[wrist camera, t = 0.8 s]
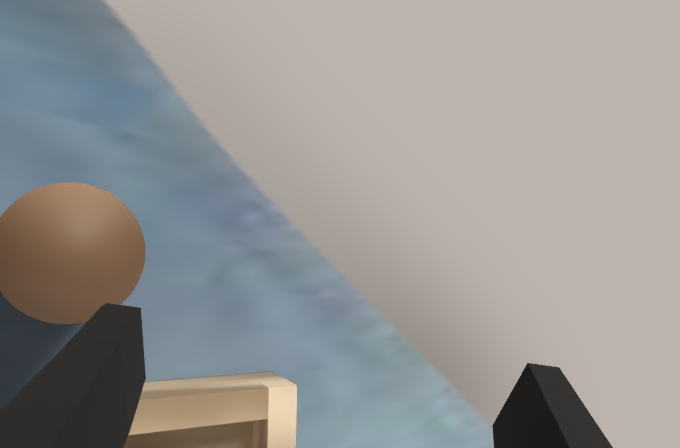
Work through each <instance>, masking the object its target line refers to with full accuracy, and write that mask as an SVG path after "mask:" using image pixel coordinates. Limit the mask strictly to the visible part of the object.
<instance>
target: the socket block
mask: <svg viewBox="0 0 680 448" xmlns="http://www.w3.org/2000/svg"><path fill="white" fill-rule="evenodd" d="M296 406H297V385H295V384H293V383H292V382H290V381H288V380H286V379H284V378H283V377H281V376H279V375H277V374H276V373H274V372H265V373H253V374H240V375H228V376H215V377H203V378H191V379H178V380H166V381H153V382H144V386H143V389H142V393H141V396H140V399H139V403H138V406H137V410H136V413H135V416H134V419H133V423H132V426H131V429H130V432H129V435H128V437H127V439H126V442H125V444H124V447H123V448H296Z"/></svg>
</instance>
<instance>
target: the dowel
mask: <svg viewBox="0 0 680 448" xmlns="http://www.w3.org/2000/svg"><path fill="white" fill-rule="evenodd" d="M144 261H145V243H144V237H143V234H142V231H141V228H140V226H139V224H138V222H137V220H136V218H135V217H134V215H133V213H132V212H131V211H130V210H129V209H128V207H127V206H126V205H125V204H124V203H122V202H121V201H120V200H119V199H118V198H116V197H115V196H113V195H112V194H110V193H108V192H106V191H104V190H102V189H100V188H97V187H94V186H91V185H87V184H81V183H56V184H51V185H47V186H43V187H40V188H37V189H35V190H33V191H31V192H29V193H27V194H25V195H23V196H22V197H21V198H19V199H18V200H16V201H15V202H14V203H13V204H12V205H11V206H10V207H9V208H8V209H7V210H6V211H5V212H4V214H3V215H2V216H1V218H0V292H1V293H2V295H3V296H4V297H5V298H6V299H7V300H8V302H9V303H10V304H11V305H13V306H14V307H15V308H17V309H18V310H19V311H21V312H22V313H24V314H26V315H28V316H29V317H32V318H34V319H37V320H40V321H43V322H47V323H53V324H68V325H69V324H79V323H83V322H87V321H88V320H89V319H90V318H91V317H92V316H93V315H94V314H95V312H96V311H97V310H98V309H99V308H100V307H101V306H102V305H104V304H106V303H110V304H117V305H120V304H121V303H123V301H124V300H125V299H126V298H127V297H128V296H129V295H130V294H131V292H132V291H133V290H134V288H135V286H136V285H137V283H138V281H139V279H140V276H141V273H142V270H143V266H144Z"/></svg>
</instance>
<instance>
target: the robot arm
mask: <svg viewBox="0 0 680 448" xmlns="http://www.w3.org/2000/svg"><path fill="white" fill-rule="evenodd" d="M145 379H146V377H145V363H144V348H143V334H142V320H141V308H138V307H131V306H124V305H117V304H110V303H106V304H104V305H102V306H101V307H100V308H99V309H98V310H97V311H96V312H95V314H94V315H93V316H92V317H91V318H90V319H89V320H88V321H87V323H86V324H85V325H84V326H83V327H82V328H81V329H80V330H79V331H78V333H77V334H76V335H75V336H74V337H73V338H72V339H71V340H70V341H69V342H68V343H67V344H66V345H65V347H64V348H63V349H62V350H61V351H60V352H59V353H58V354H57V355H56V356H55V357H54V358H53V359H52V360H51V361H50V362H49V363H48V364H47V365H46V366H45V367H44V368H43V369H42V370H41V371H40V372H39V373H38V374H37V375H36V376H35V377H34V378H33V379H32V380H31V381H30V382H29V383H28V384H27V385H26V386H25V387H24V388H23V389H22V390H21V391H20V392H19V393H18V394H17V395H16V396H15V397H14V398H13V399H12V400H11V401H10V402H9V403H8V404H7V405H6V406H5V407H3V408H2V409H1V410H0V448H123V447H124V444H125V442H126V439H127V437H128V435H129V432H130V429H131V426H132V423H133V419H134V416H135V413H136V410H137V406H138V403H139V399H140V396H141V393H142V389H143V386H144V382H145ZM493 438H494V448H613V447H612V446H611V445H610V443H609V442H608V440H607V438H606V437H605V436H604V434H603V433H602V431H601V430H600V428H599V427H598V425H597V424H596V422H595V421H594V419H593V418H592V416H591V415H590V413H589V412H588V410H587V409H586V407H585V406H584V404H583V403H582V401H581V400H580V398H579V397H578V395H577V394H576V392H575V391H574V389H573V388H572V386H571V384H570V383H569V381H568V380H567V378H566V377H565V376H564V374H563V373H562V371H561V370H560V368H558V367H552V366H545V365H538V364H529V363H527V365H526V367H525V369H524V371H523V372H522V374H521V376H520V378H519V380H518V381H517V383H516V385H515V387H514V389H513V390H512V392H511V394H510V396H509V398H508V399H507V401H506V403H505V404H504V406H503V408H502V410H501V411H500V414H499V415H498V417H497V419H496V421H495V422H494V424H493Z"/></svg>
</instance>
